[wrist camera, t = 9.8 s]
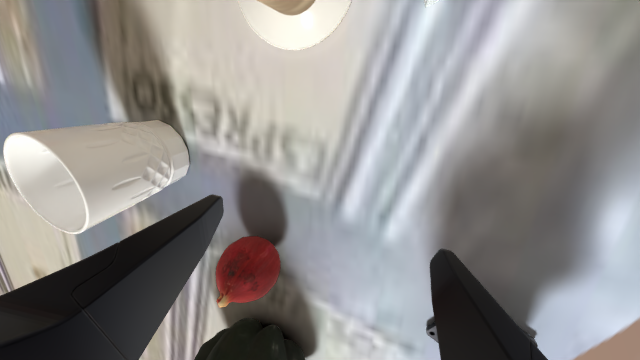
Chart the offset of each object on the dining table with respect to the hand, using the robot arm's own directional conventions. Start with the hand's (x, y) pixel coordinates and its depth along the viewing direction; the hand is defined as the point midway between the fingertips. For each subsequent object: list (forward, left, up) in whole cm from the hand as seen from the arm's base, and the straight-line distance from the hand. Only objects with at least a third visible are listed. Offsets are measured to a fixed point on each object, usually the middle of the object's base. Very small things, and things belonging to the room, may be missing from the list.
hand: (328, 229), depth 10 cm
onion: (+2, +15, -11) cm, 19 cm away
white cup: (+17, +13, -11) cm, 24 cm away
